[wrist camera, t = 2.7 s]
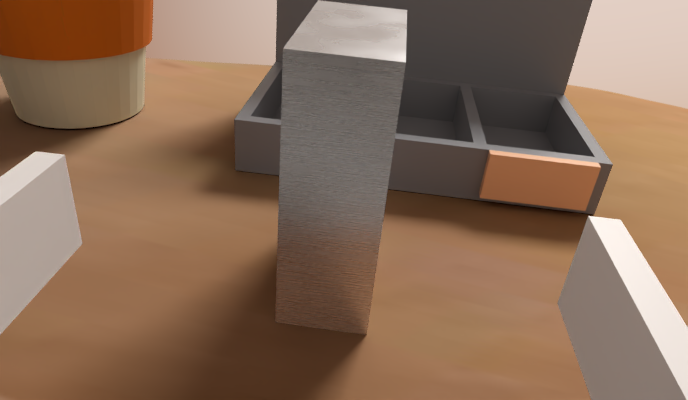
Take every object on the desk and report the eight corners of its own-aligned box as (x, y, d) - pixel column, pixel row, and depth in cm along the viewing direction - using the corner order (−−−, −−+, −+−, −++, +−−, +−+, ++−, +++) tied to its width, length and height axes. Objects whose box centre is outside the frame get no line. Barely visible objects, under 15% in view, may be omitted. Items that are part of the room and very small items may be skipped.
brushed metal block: (275, 322, 24) (282, 48, 18) (305, 223, 31) (318, 0, 25) (366, 335, 24) (406, 62, 18) (376, 232, 31) (407, 9, 25)
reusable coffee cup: (163, 138, 38) (140, -111, 31) (-42, 141, 35) (-123, -132, 28) (172, 79, 49) (156, -117, 41) (14, 78, 46) (-33, -132, 38)
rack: (232, 174, 35) (227, -71, 28) (277, 98, 47) (281, -88, 39) (596, 219, 34) (689, -23, 27) (548, 130, 46) (603, -55, 38)
